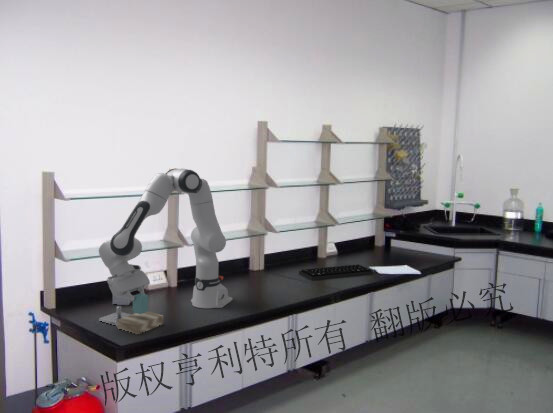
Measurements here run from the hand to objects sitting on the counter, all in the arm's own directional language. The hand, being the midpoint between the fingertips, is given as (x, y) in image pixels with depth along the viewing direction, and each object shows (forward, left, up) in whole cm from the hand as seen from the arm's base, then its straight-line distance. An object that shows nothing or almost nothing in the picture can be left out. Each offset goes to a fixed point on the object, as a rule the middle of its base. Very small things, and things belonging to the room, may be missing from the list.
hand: (139, 298), depth 244 cm
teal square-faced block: (0, +1, -6) cm, 6 cm away
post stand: (0, -12, -13) cm, 17 cm away
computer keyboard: (-138, +36, -13) cm, 143 cm away
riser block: (0, +1, -13) cm, 13 cm away
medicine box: (-18, -28, -13) cm, 36 cm away
